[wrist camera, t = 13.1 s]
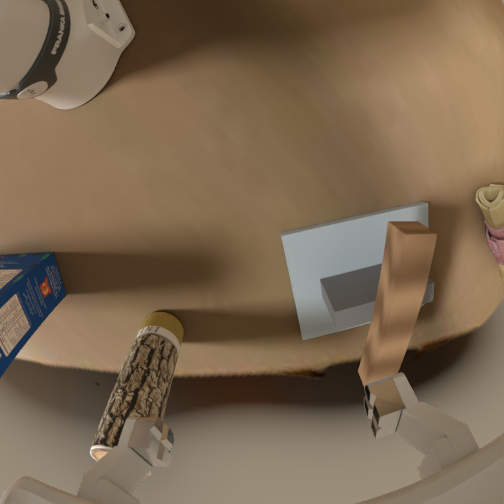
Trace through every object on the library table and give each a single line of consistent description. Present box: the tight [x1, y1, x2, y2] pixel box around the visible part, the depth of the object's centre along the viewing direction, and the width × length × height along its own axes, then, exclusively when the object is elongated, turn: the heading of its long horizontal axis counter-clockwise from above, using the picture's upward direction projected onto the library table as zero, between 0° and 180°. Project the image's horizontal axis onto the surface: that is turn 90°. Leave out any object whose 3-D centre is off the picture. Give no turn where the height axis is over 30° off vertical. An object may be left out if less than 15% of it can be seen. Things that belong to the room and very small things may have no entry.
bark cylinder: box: [90, 312, 184, 477], centre depth 32 cm, size 7×7×25 cm
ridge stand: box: [281, 201, 435, 340], centre depth 36 cm, size 22×18×9 cm
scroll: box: [475, 184, 504, 280], centre depth 35 cm, size 8×8×20 cm
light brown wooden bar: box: [358, 221, 437, 387], centre depth 30 cm, size 22×4×4 cm, turn 2°
